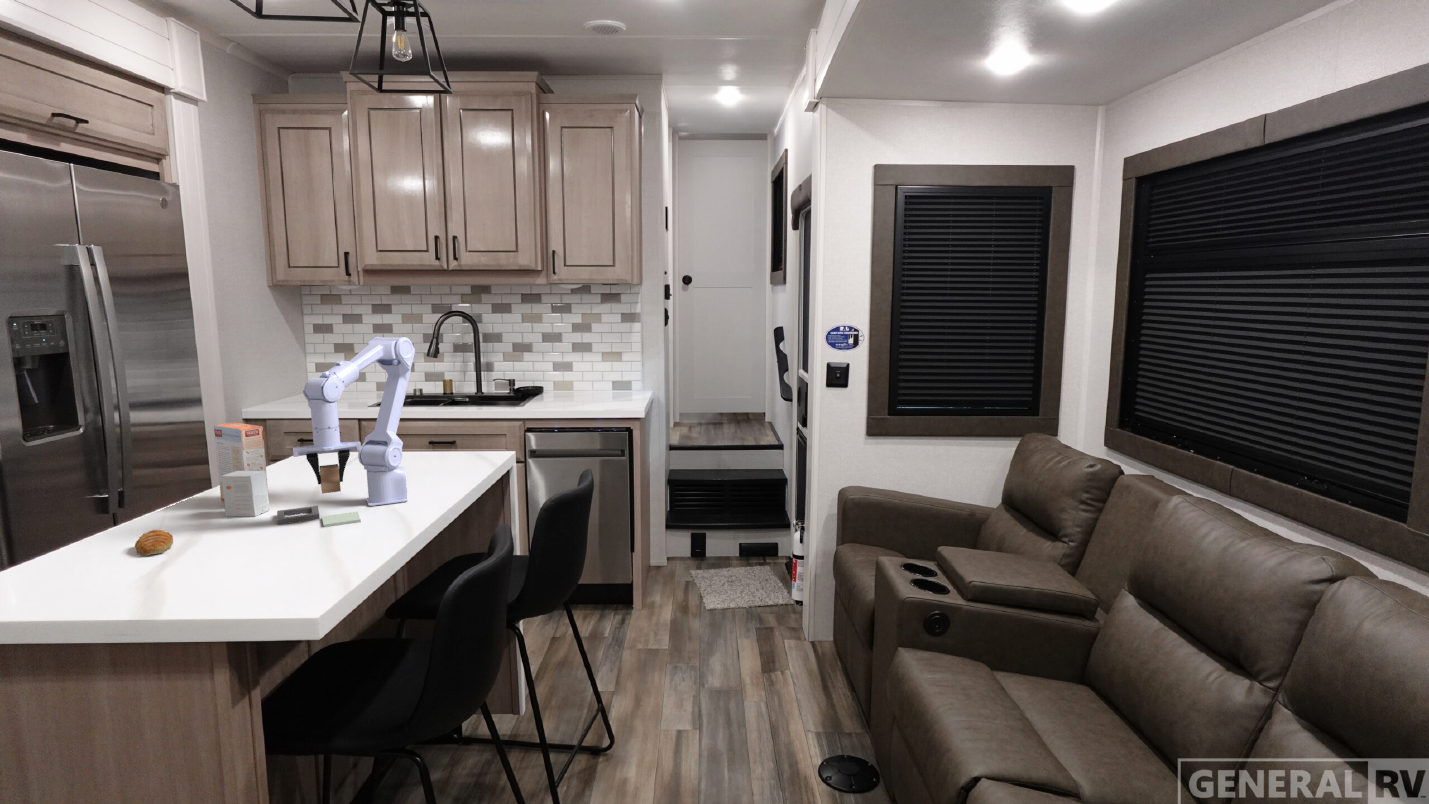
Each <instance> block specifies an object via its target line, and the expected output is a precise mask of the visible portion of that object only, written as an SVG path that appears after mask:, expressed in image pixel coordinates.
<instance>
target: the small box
mask: <svg viewBox="0 0 1429 804" xmlns="http://www.w3.org/2000/svg"><path fill="white" fill-rule="evenodd" d="M266 474H267V471H266V472H265V471H235V472H232V473H229V474H226V475H223V476H221V477H222V486H223V494H224V501H223V503H224V510H225V516H226V517H252V516H255V517H257V516H259V515H261V513H262V514H265V513H268V512H269V511H270V509H271V508H270V501H269V500H270V499H269V498H268V497H269V489H267V486H268V480H267V481H266Z"/></svg>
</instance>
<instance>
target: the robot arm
mask: <svg viewBox="0 0 1429 804" xmlns="http://www.w3.org/2000/svg"><path fill="white" fill-rule="evenodd" d="M415 353H416V349H415V346H414V344H413V342H412V341H411V340H410V338H408V337H405V336H403V337H402V336H401V337H387V336H386V337H383V336H376V337H374V338H372V339H371V340H370V341H367V345H366V346H365V347H364V348H363V349H362V350H361V351H359V353H357V354H356V355H355V356H354V357H353V358H351V359H350V360H349V361H348V360H337V361H336V362H334V365H333V366H332V367H331V368H329V369H328V370H327V371H323V372H321V375H319V377H312V378H310V379H309V380H307V382H306V383H305V385H304V389H303V390H302V394H303V397H304V398H305V399H306V400H307V403H308V404H307V405H308V407H309V409H310V416H311V417H310V418H311V425H312V427H311V429H312V438H313V439H312V442H313V444H311V445H304V446H303V445H302V446H296V447H293V448H292V452H293V457H294V458H296V457H297V458H298V457H301V456H306V458H305V459H306V460H307V462H308V463H309V465H310V466H311V468H312V470H313V472H314V474H315V477H316V480H317V484H318V485H321V477H320V464H319V463H320V462H319V455H322V454H332V453H337V458H338V466H339V476H340V483H343V482H344V473H345V469H346V466H347V462H348V460H349V458H350V457H351V456H350V455H351V452H354V451H356V452H357V453H358V454H357V456H358V457H357V458H358V461H359V463H360V465H362V467H363V469H364V470H365V471H366V480H367V481H366V482H367V483H366V484H367V495H368V496H367V497H366V498H365V500H366V503H367V505H368V507H374V506H376V507H377V506H381V505H389V504H395V503H396V504H397V503H404V502H408V501H409V500H408V487H407V478H406V477H407V476H406V470H405V467H404V466H400V464H401V462H402V460H403V445H404V442H403V441H402V439H401V438H400V437H399V436H398V435H397V432H398V427H399V424H400V419H401V416H402V410H403V406H404V403H405V398H406V394H407V390H408V386H409V382H410V377H411V373H412V365H413V360H414V357H415ZM375 362H376V363H377V364H378V366H380V367H381V369H382V370H383V371H385V372H386V374H387V378H386V382H385V386H384V390H383V394H382V399H381V400H380V401H381V402H380V406H379V409H378V413H377V418H376V421H375V425H374V430H373V431H372V432H370V433H369V434H368V435H366V436H365V437H364V441H363V443H361V441H345V442H344V441H343V442H342V441H341V436H340V435H341V433H340V423H339V420H340V419H339V410H338V401H339V400H340V399H341V397H342V394H343V392H344V391H345V389H346V388H348V387H349V386H350V385H352V384H353V383H354V382H356V381H357V380H358V379H359V378H360V372H362V371H363V370H365V369H366V368H368V367H369V366H370V365H372V364H374V363H375Z"/></svg>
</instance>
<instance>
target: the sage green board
mask: <svg viewBox="0 0 1429 804" xmlns="http://www.w3.org/2000/svg"><path fill="white" fill-rule="evenodd" d="M321 519H322V526H324V527H323V528H327V527H334V526H341V525H349V524H355V523H361V522H362V521H361V517H360V515H359V511H351V512H343V513H336V514H329V515H323V516H321Z"/></svg>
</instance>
